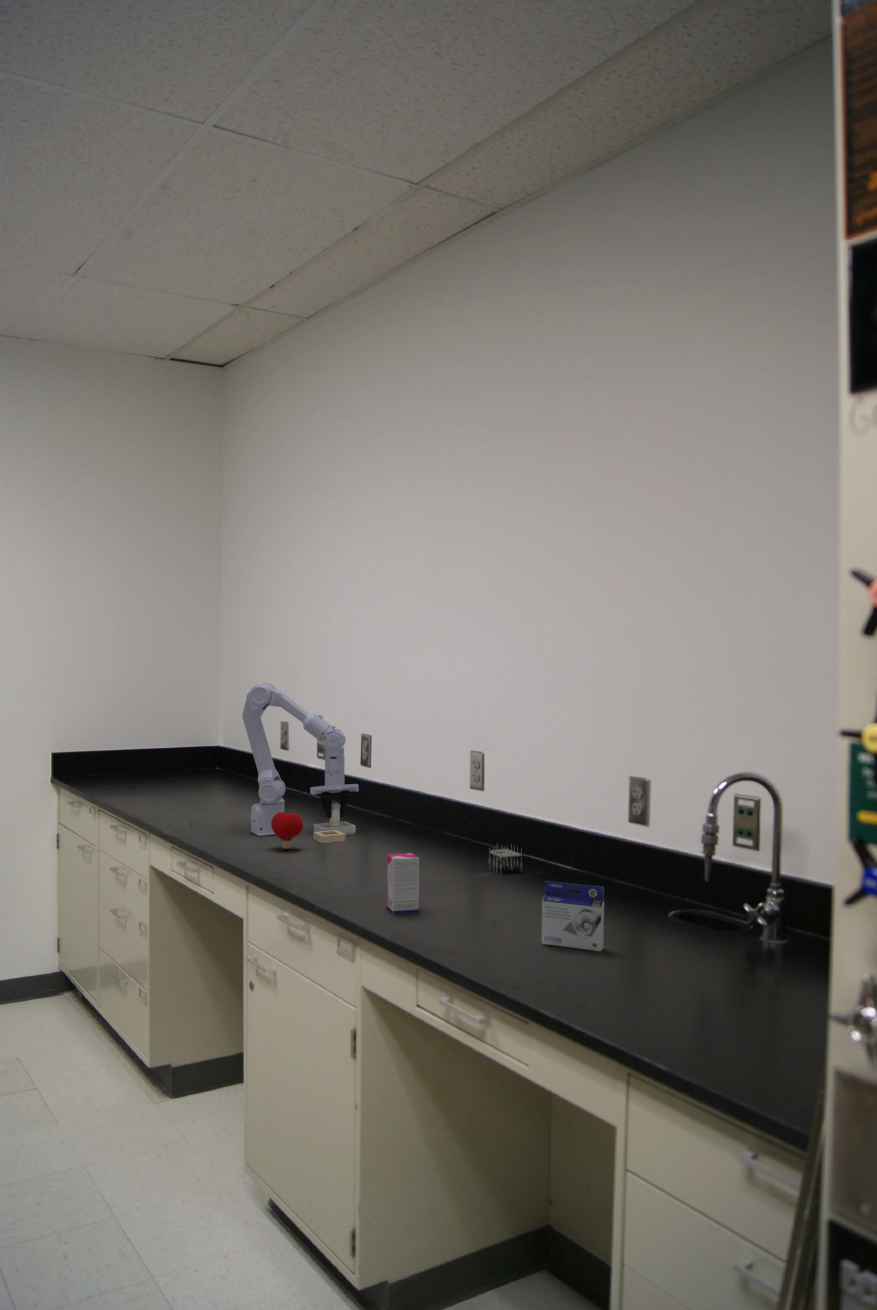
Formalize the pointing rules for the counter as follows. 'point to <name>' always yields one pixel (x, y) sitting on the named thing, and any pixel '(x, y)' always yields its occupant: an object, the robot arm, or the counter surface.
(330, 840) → the socket block
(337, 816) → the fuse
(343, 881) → the counter surface
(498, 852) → the building frame
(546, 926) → the ink box
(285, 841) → the red heart figure
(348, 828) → the tray
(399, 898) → the supplement box
